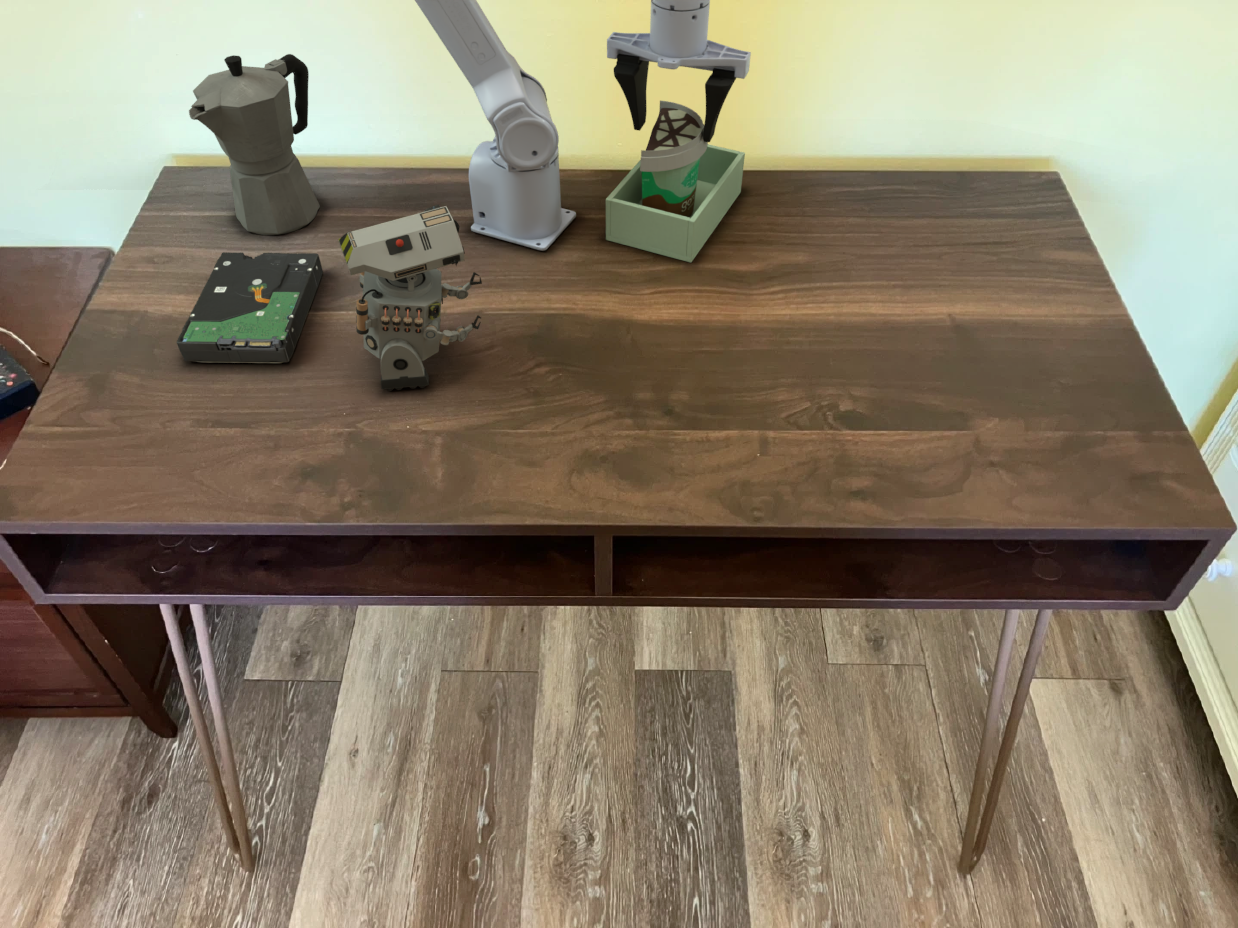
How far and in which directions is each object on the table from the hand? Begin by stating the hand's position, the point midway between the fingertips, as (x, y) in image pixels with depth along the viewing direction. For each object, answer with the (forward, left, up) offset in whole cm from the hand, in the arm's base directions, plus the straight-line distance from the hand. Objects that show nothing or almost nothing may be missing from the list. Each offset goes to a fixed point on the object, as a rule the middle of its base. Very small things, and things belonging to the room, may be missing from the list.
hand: (673, 131), depth 100 cm
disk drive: (-30, -35, -10) cm, 48 cm away
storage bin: (+1, 0, -10) cm, 10 cm away
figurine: (-11, -33, -10) cm, 37 cm away
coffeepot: (-40, -18, -10) cm, 45 cm away
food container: (+1, 0, -9) cm, 9 cm away
